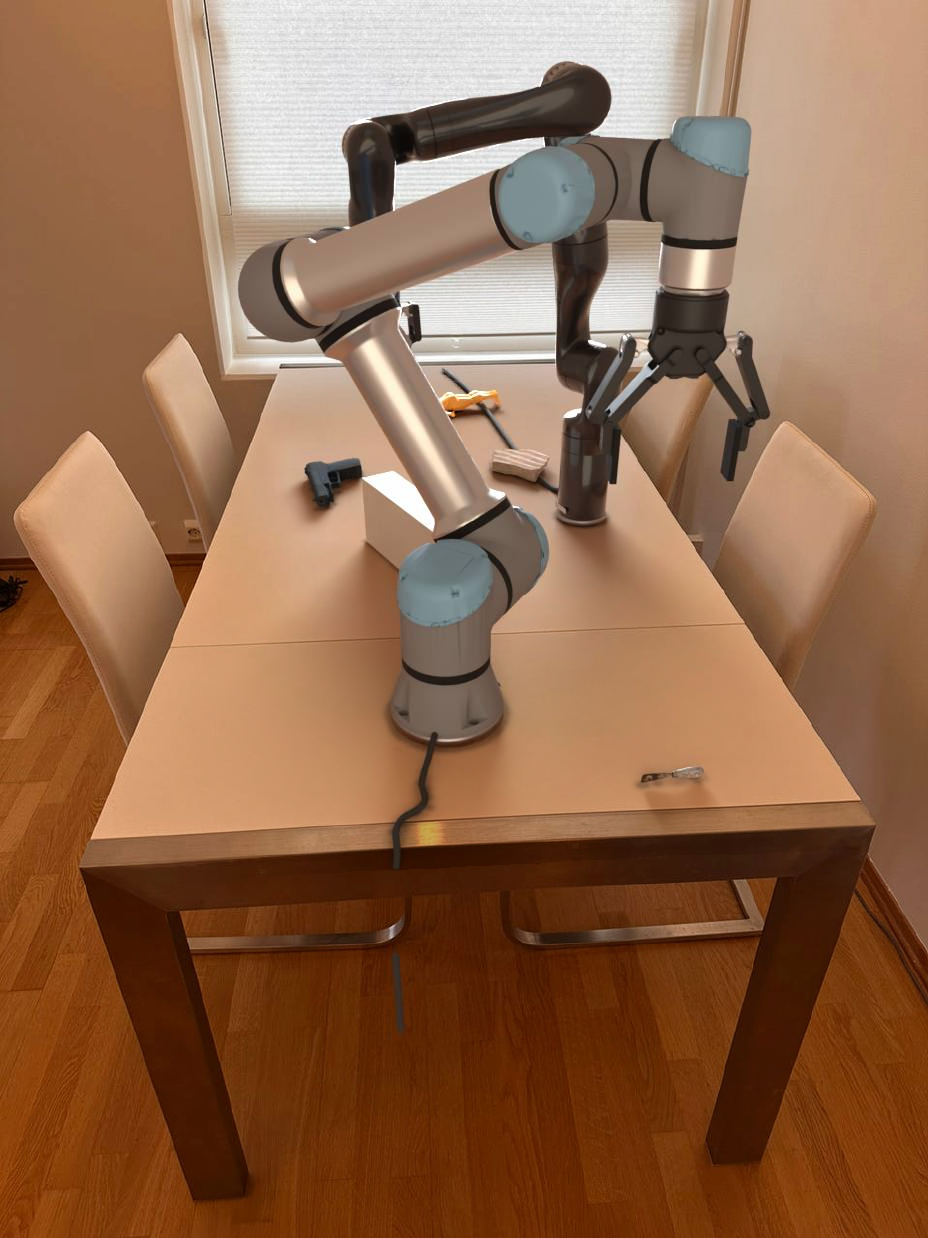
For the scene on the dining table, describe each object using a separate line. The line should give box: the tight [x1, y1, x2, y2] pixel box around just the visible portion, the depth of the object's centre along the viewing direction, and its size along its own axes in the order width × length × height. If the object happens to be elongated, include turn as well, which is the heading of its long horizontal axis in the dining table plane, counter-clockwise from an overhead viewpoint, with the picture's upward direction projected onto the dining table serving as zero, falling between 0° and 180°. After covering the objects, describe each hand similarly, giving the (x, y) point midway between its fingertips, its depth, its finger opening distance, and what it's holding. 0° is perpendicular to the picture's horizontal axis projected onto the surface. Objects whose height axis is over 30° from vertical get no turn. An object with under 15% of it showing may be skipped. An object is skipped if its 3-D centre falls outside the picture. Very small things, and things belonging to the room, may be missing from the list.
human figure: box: [438, 389, 500, 418], centre depth 225 cm, size 20×20×4 cm
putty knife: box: [640, 765, 705, 784], centre depth 109 cm, size 1×8×2 cm, turn 103°
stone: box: [489, 448, 550, 483], centre depth 192 cm, size 13×12×2 cm
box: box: [361, 470, 436, 571], centre depth 153 cm, size 27×6×12 cm, turn 32°
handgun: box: [303, 457, 363, 509], centre depth 184 cm, size 3×18×12 cm
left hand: (669, 478), depth 104 cm, fingers open, 13 cm apart
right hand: (380, 372), depth 146 cm, fingers open, 8 cm apart
